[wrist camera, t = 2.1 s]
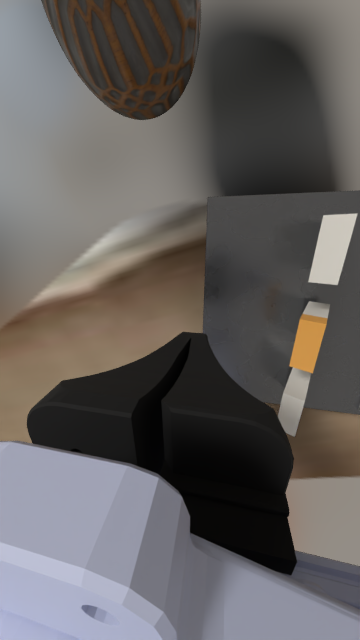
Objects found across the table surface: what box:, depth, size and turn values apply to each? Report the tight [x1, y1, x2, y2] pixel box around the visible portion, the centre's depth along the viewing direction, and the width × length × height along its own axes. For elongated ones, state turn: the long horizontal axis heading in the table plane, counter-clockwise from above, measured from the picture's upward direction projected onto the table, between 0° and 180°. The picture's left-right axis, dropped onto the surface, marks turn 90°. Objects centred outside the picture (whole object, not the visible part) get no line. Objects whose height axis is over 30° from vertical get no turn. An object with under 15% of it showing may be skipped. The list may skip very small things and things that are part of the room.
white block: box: [308, 213, 358, 285], centre depth 11 cm, size 3×1×4 cm, turn 0°
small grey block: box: [278, 367, 311, 437], centre depth 15 cm, size 3×1×4 cm, turn 0°
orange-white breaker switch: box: [289, 301, 330, 373], centre depth 13 cm, size 3×1×4 cm, turn 0°
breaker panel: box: [203, 191, 360, 415], centre depth 16 cm, size 16×16×2 cm
